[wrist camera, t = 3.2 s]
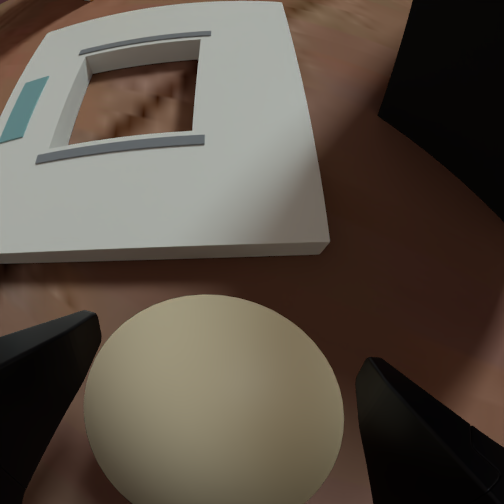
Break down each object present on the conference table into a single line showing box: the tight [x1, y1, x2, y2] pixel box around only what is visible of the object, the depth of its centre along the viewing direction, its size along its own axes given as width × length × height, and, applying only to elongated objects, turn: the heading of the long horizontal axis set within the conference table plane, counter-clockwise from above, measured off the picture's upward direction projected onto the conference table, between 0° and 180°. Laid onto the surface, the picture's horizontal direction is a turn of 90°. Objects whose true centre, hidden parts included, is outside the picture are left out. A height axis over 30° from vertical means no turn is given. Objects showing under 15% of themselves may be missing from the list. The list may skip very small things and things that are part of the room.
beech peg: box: [84, 294, 344, 504], centre depth 10 cm, size 5×5×10 cm
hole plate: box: [0, 1, 330, 264], centre depth 18 cm, size 22×22×2 cm
